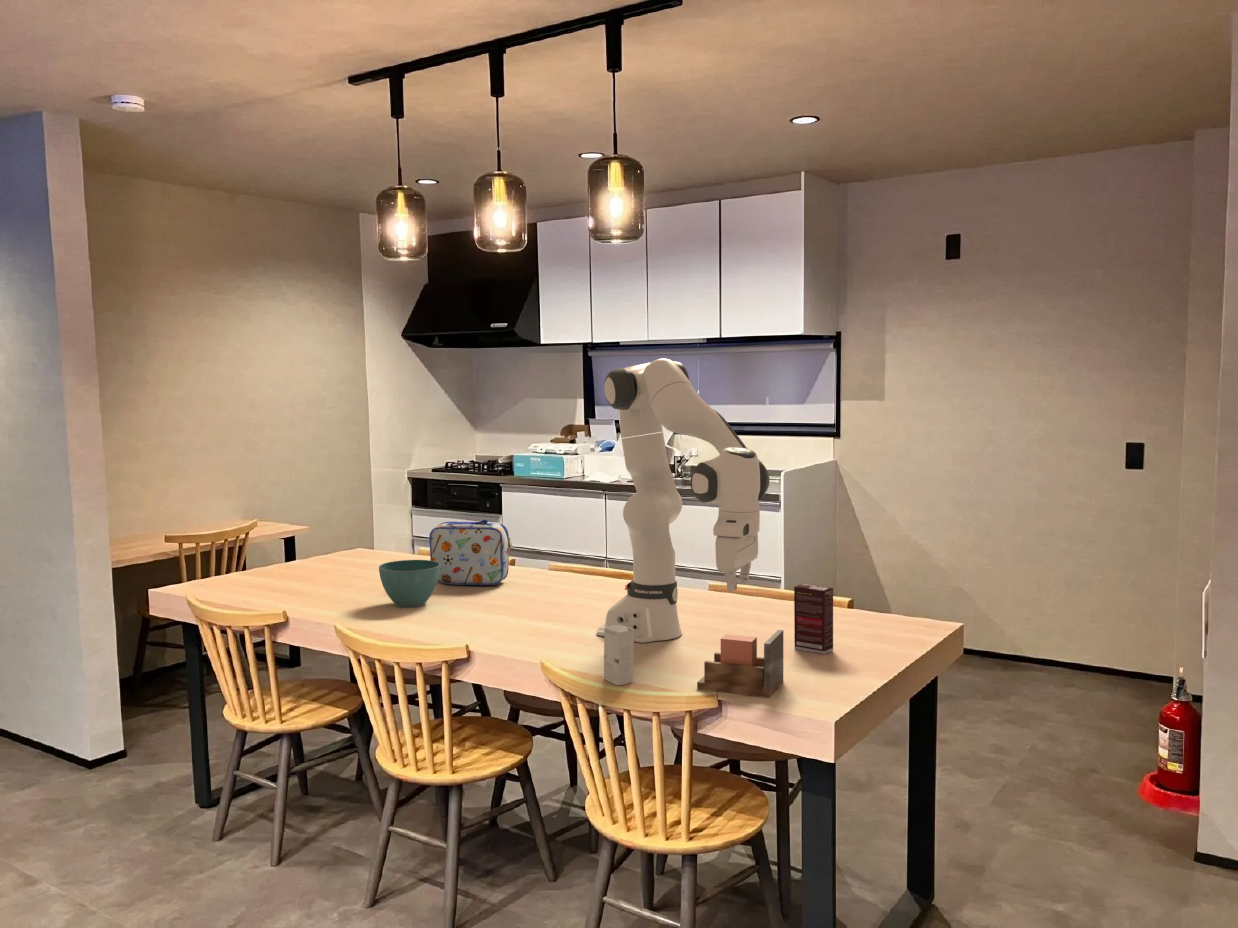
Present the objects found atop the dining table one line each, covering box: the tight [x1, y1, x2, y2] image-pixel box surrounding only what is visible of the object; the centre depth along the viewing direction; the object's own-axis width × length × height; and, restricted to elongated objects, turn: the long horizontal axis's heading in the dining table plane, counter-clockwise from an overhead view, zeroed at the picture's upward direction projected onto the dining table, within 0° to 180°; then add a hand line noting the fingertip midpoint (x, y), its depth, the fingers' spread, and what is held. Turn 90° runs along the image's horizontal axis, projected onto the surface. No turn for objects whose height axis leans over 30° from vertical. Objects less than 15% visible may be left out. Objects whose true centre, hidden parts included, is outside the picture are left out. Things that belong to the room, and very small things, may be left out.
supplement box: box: [793, 583, 834, 655], centre depth 234 cm, size 9×5×16 cm, turn 50°
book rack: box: [696, 629, 784, 699], centre depth 208 cm, size 16×12×12 cm
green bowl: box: [378, 559, 440, 609], centre depth 289 cm, size 18×18×12 cm
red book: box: [720, 633, 758, 666], centre depth 208 cm, size 7×4×9 cm, turn 66°
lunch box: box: [428, 519, 514, 586], centre depth 318 cm, size 28×10×22 cm, turn 82°
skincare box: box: [603, 624, 635, 686], centre depth 212 cm, size 6×4×12 cm
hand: (738, 586), depth 207 cm, fingers open, 8 cm apart
